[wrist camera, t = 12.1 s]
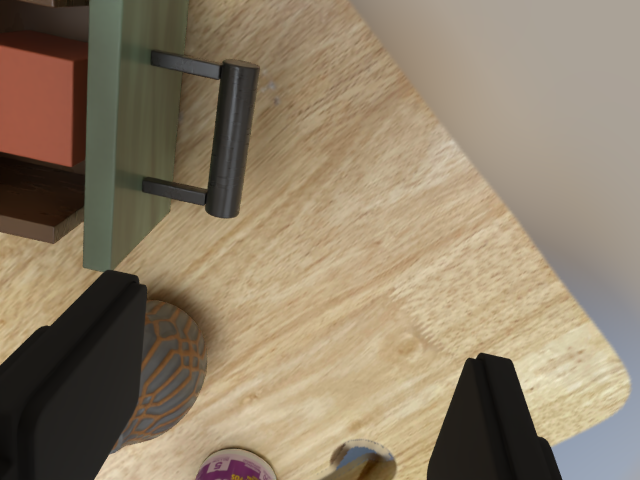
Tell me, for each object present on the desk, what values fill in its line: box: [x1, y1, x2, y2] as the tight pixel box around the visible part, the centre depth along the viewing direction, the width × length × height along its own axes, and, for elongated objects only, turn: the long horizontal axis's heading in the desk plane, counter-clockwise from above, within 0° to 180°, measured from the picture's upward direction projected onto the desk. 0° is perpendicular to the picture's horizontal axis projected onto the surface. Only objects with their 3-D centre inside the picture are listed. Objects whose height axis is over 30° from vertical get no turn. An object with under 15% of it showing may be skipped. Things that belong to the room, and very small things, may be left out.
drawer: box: [0, 0, 260, 272], centre depth 25 cm, size 18×11×7 cm, turn 79°
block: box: [0, 30, 88, 167], centre depth 25 cm, size 4×4×4 cm
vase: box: [110, 300, 207, 454], centre depth 31 cm, size 7×7×9 cm
